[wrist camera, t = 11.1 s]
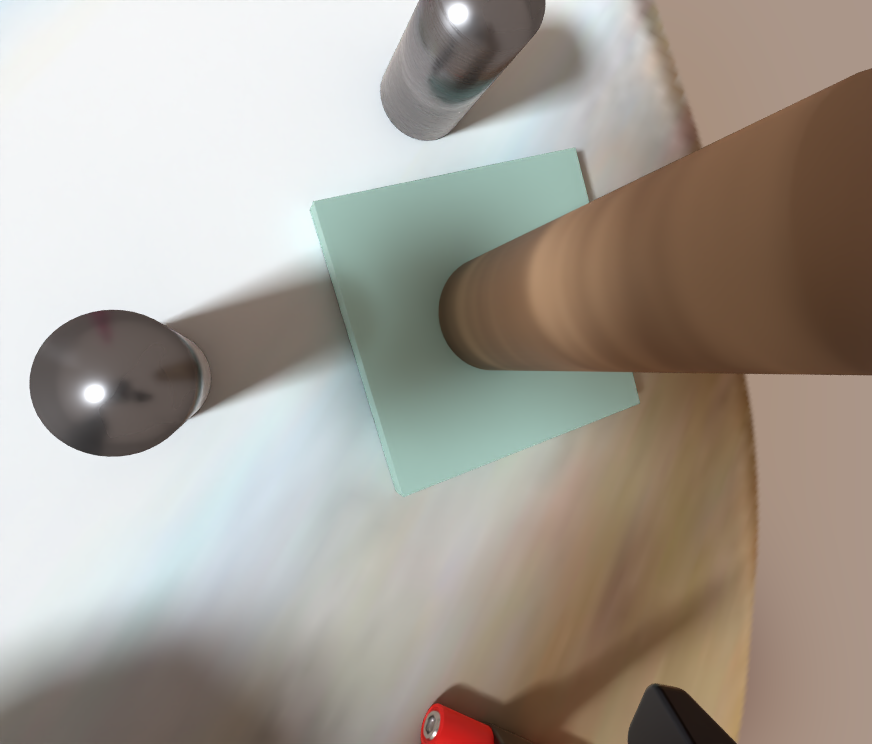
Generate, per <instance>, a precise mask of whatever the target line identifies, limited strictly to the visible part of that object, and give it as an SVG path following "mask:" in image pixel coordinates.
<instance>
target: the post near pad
mask: <svg viewBox="0 0 872 744" xmlns="http://www.w3.org/2000/svg"><path fill="white" fill-rule="evenodd" d="M544 12H545V0H419V2H418V4H417V6H416V8H415V10H414V12H413V14H412V17H411V19H410V21H409V23H408V25H407V27H406V29H405V31H404V33H403V35H402V38H401V40H400V42H399V44H398V46H397V48H396V50H395V52H394V54H393V56H392V59H391V61H390V63H389V65H388V67H387V69H386V71H385V73H384V75H383V78H382V81H381V90H380V93H381V101H382V105H383V108H384V110H385V112H386V114H387V116H388V118H389V119H390V121H391V122H392V123H393V124H394V125H395V126H396V127H397V128H398V129H399V130H400V131H401V132H403V133H404V134H406V135H407V136H410V137H412V138H415V139H418V140H426V141H429V140H435V139H439V138H441V137H443V136H445V135H447V134H448V133H449V132H450V131H451V130H452V129H453V128H454V127H455V126H456V124H457V123H458V122H459V121H460V120H461V119H462V117H463V116H464V115H465V114H466V113H467V112H468V111H469V109H470V108H471V107H472V106H473V105H474V104H475V103H476V101H477V100H478V99H479V98H480V97H481V96H482V94H483V93H484V92H485V91H486V90H487V89H488V88H489V86H490V85H491V84H492V83H493V82H494V81H495V80H496V78H497V77H498V76H499V75H500V74H501V73H502V71H503V70H504V69H505V68H506V67H507V66H508V65H509V63H510V62H511V61H512V60H513V59H514V58H515V56H516V55H517V54H518V53H519V52H520V51H521V50H522V48H523V47H524V46H525V45H526V44H527V43H528V42H529V40H530V39H531V38H532V37H533V36H534V35H535V33H536V32H537V30H538V29H539V27H540V25H541V23H542V20H543V17H544Z"/></svg>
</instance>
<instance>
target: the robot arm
mask: <svg viewBox="0 0 872 744" xmlns="http://www.w3.org/2000/svg"><path fill="white" fill-rule="evenodd" d="M628 744H737V743H736V742H735V741H734V740H733V739H732V738H731V737H730V736H729V735H728V734H727V733H726V732H725V731H724V730H723V729H722V728H721V727H720V726H719V725H718V724H717V723H716V722H715V721H714V720H713V719H712V718H711V717H710V716H709V715H708V714H707V713H706V712H705V711H704V710H703V709H702V708H701V707H700V706H699V705H698V704H697V702H696V701H695V700H694V699H693V698H692V697H691V696H690V695H689V694H688V693H686V692H685V691H684V690H682V689H680V688H678V687H673V686H667V685H662V684H656V683H655V684H651V685H650V686H648V687H647V689H646V691H645V693H644V695H643V697H642V699H641V702H640V704H639V706H638V708H637V711H636V713H635V715H634V718H633V720H632V722H631V724H630V727H629V732H628Z"/></svg>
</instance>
